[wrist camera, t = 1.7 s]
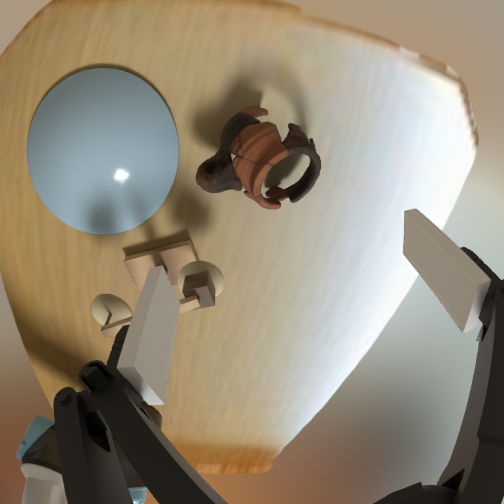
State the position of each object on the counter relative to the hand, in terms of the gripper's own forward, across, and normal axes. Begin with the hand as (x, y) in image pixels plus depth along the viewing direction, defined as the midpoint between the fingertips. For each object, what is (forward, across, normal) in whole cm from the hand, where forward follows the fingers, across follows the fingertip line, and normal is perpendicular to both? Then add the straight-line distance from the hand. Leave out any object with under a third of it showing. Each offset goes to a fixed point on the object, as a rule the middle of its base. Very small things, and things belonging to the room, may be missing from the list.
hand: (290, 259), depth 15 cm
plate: (+19, -18, +6) cm, 27 cm away
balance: (+19, -14, -10) cm, 26 cm away
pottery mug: (+19, 0, +1) cm, 19 cm away
